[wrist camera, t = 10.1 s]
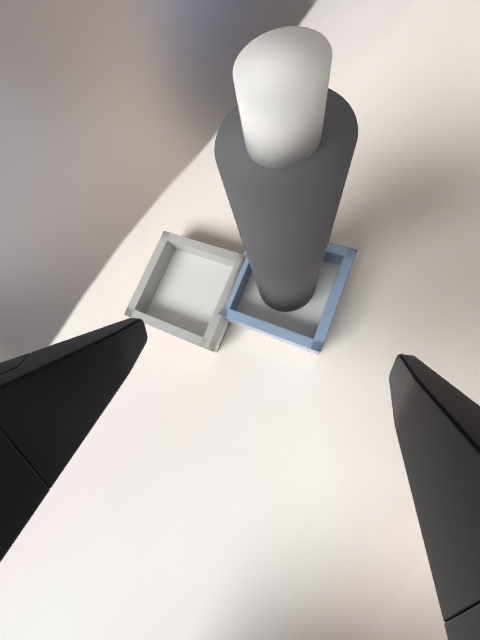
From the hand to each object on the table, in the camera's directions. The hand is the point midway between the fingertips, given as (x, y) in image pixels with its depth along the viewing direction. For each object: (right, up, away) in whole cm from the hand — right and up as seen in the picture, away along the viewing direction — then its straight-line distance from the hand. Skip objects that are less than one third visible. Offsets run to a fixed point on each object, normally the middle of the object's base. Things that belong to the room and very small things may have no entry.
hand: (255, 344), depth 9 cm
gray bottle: (+3, +4, +12) cm, 12 cm away
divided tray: (-1, +2, +13) cm, 13 cm away
